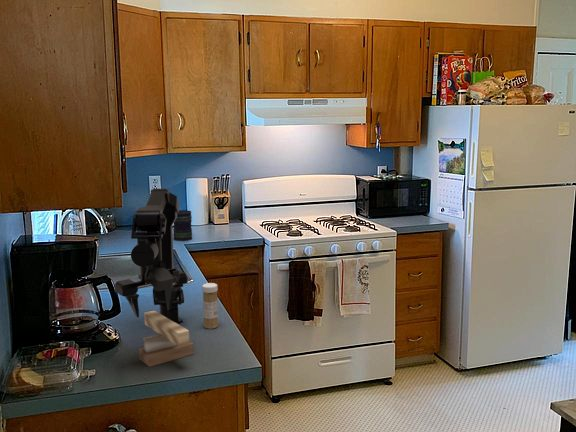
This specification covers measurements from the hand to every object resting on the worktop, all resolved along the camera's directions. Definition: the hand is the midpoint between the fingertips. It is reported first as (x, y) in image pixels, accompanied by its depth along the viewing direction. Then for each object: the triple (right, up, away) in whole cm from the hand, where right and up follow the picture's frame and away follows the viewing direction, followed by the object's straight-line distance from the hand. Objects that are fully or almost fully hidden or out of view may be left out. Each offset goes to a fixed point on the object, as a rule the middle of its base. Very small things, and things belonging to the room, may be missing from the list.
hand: (153, 313), depth 152 cm
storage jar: (-20, +13, +151) cm, 153 cm away
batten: (+3, -5, 0) cm, 7 cm away
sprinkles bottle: (+12, -8, +23) cm, 27 cm away
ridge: (+3, -12, +1) cm, 12 cm away
